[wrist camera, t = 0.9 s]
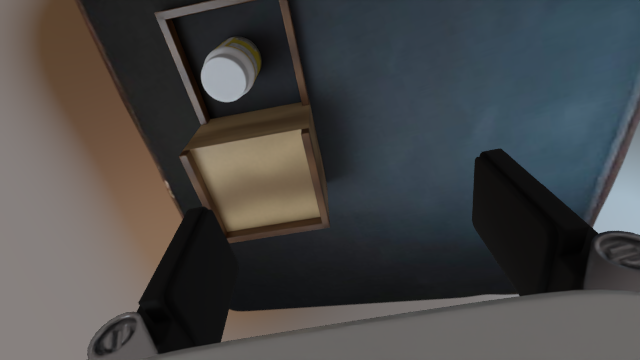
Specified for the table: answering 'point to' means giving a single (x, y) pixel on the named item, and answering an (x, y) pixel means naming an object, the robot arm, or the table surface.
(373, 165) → the table surface
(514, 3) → the table surface
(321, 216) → the shelf rack
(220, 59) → the supplement bottle
